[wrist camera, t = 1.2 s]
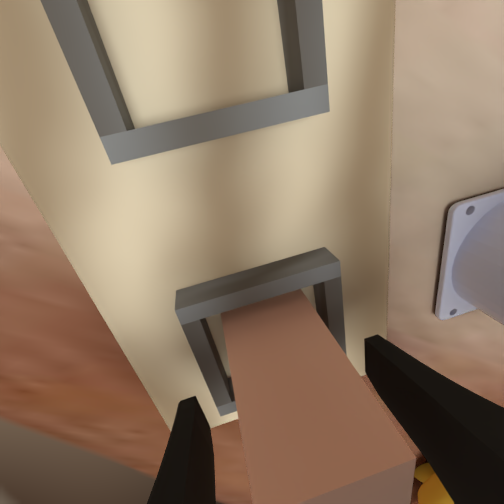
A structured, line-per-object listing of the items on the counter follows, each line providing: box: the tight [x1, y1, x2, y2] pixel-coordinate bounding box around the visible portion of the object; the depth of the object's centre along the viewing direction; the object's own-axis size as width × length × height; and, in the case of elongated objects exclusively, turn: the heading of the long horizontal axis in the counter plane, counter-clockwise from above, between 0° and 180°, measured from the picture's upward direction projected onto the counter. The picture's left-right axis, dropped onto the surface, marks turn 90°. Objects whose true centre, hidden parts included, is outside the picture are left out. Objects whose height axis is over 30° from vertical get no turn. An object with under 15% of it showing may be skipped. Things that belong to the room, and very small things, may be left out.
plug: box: [221, 289, 416, 504], centre depth 11 cm, size 4×4×8 cm
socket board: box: [0, 0, 395, 431], centre depth 11 cm, size 14×26×2 cm, turn 12°
